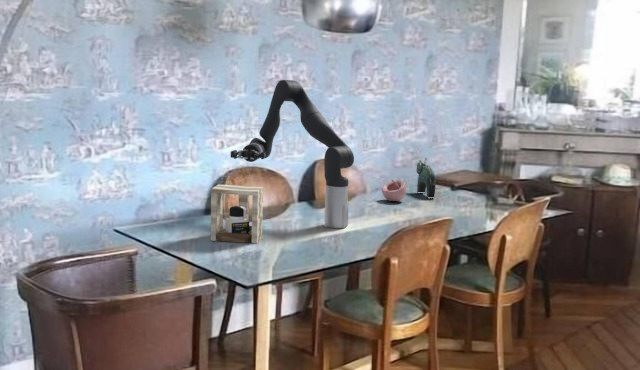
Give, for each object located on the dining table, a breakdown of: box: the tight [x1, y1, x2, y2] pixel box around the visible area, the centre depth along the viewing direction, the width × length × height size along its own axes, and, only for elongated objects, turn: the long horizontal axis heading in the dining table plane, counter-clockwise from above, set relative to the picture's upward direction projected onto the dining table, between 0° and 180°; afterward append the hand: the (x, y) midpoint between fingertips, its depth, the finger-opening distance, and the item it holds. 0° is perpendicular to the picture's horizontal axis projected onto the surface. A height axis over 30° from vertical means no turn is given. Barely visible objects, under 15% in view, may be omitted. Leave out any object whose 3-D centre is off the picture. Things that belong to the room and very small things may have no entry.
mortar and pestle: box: [381, 179, 407, 202], centre depth 345 cm, size 12×12×12 cm
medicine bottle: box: [224, 205, 250, 234], centre depth 263 cm, size 7×7×12 cm
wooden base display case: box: [217, 195, 252, 244], centre depth 266 cm, size 19×12×15 cm, turn 174°
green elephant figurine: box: [416, 157, 436, 198], centre depth 363 cm, size 20×6×20 cm, turn 10°
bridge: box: [210, 184, 264, 244], centre depth 262 cm, size 10×18×20 cm, turn 84°
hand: (244, 156), depth 288 cm, fingers open, 8 cm apart
